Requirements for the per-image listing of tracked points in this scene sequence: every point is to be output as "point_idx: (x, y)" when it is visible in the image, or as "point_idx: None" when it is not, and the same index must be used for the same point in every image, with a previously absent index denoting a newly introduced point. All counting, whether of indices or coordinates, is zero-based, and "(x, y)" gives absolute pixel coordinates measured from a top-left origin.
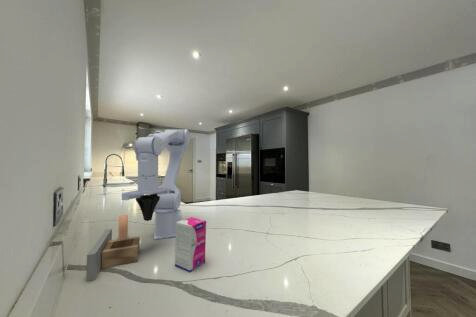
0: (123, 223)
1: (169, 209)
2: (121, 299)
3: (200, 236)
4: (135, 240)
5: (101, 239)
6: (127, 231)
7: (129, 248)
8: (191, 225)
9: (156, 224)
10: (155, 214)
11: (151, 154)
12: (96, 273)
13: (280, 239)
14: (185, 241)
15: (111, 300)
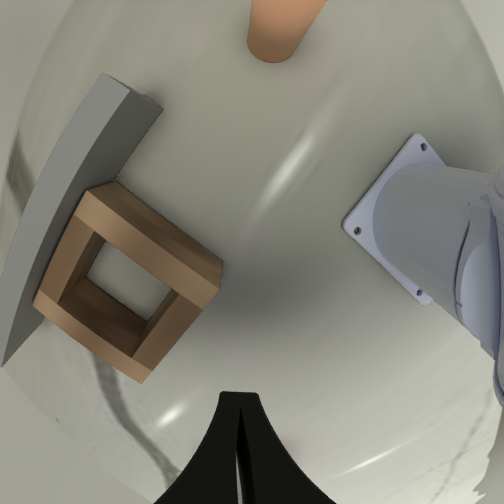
0: (270, 21)
1: (487, 345)
2: (74, 423)
3: None
4: (170, 321)
5: (21, 251)
6: (295, 45)
7: (114, 366)
8: None
9: (408, 221)
10: (458, 215)
11: None
12: (38, 320)
13: (425, 484)
14: None
15: (60, 411)
